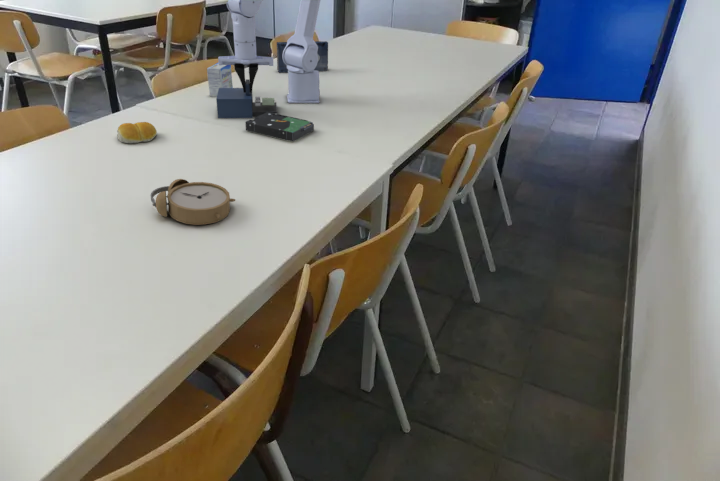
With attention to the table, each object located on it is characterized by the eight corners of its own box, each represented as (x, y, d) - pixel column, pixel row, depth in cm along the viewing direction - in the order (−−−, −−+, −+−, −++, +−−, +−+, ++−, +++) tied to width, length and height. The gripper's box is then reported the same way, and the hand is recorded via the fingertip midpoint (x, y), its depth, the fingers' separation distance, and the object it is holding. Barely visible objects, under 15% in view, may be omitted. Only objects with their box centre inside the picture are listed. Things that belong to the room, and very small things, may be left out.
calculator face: (274, 97, 158) (273, 96, 158) (274, 106, 152) (274, 105, 151) (255, 97, 158) (255, 96, 157) (255, 106, 151) (255, 105, 151)
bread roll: (161, 140, 134) (158, 124, 132) (122, 146, 130) (119, 130, 127) (151, 129, 140) (149, 114, 138) (114, 135, 135) (111, 119, 133)
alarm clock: (216, 215, 97) (137, 191, 97) (214, 238, 99) (137, 215, 100) (240, 189, 106) (167, 167, 107) (237, 210, 109) (166, 189, 110)
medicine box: (223, 98, 166) (220, 68, 161) (209, 96, 166) (206, 67, 162) (233, 91, 172) (231, 63, 168) (220, 89, 173) (217, 61, 168)
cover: (253, 106, 160) (251, 76, 156) (252, 118, 151) (250, 87, 147) (220, 106, 159) (217, 76, 154) (218, 118, 150) (215, 87, 145)
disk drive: (245, 132, 142) (293, 143, 136) (244, 121, 140) (293, 132, 135) (267, 121, 150) (314, 130, 145) (267, 111, 148) (314, 120, 143)
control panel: (276, 107, 160) (276, 97, 159) (277, 117, 153) (276, 106, 151) (224, 107, 158) (223, 97, 157) (222, 117, 150) (221, 106, 149)
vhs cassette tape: (326, 69, 202) (326, 40, 197) (328, 71, 199) (328, 42, 194) (276, 70, 196) (276, 41, 191) (278, 72, 194) (277, 43, 189)
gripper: (215, 43, 141) (220, 95, 148) (272, 44, 143) (274, 95, 150) (217, 37, 147) (221, 88, 154) (272, 38, 149) (273, 88, 156)
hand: (247, 91), depth 152 cm, fingers closed on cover
